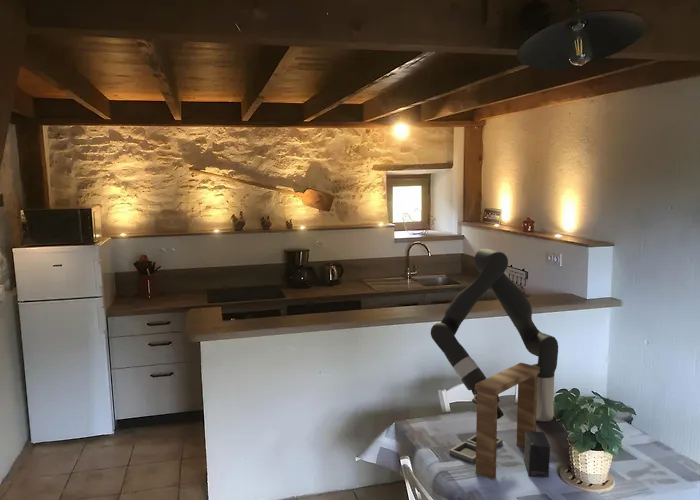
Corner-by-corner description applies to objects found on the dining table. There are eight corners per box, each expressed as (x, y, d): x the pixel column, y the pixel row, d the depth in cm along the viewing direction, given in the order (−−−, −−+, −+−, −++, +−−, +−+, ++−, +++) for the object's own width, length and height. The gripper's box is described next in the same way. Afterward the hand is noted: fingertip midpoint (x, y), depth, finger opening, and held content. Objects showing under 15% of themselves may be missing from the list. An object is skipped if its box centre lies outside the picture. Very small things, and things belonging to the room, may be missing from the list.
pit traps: (480, 435, 201) (480, 431, 201) (502, 443, 195) (502, 439, 195) (449, 454, 188) (449, 449, 188) (472, 463, 182) (472, 458, 182)
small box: (550, 478, 172) (551, 446, 171) (528, 477, 173) (529, 444, 172) (543, 461, 182) (544, 431, 181) (523, 460, 183) (524, 430, 182)
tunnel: (518, 442, 196) (520, 362, 193) (537, 448, 191) (539, 367, 188) (473, 472, 176) (474, 384, 172) (493, 480, 171) (494, 389, 168)
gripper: (465, 372, 184) (498, 418, 177) (486, 362, 193) (518, 405, 186) (451, 383, 188) (483, 429, 181) (473, 373, 198) (503, 416, 191)
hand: (501, 417), depth 184 cm, fingers closed
